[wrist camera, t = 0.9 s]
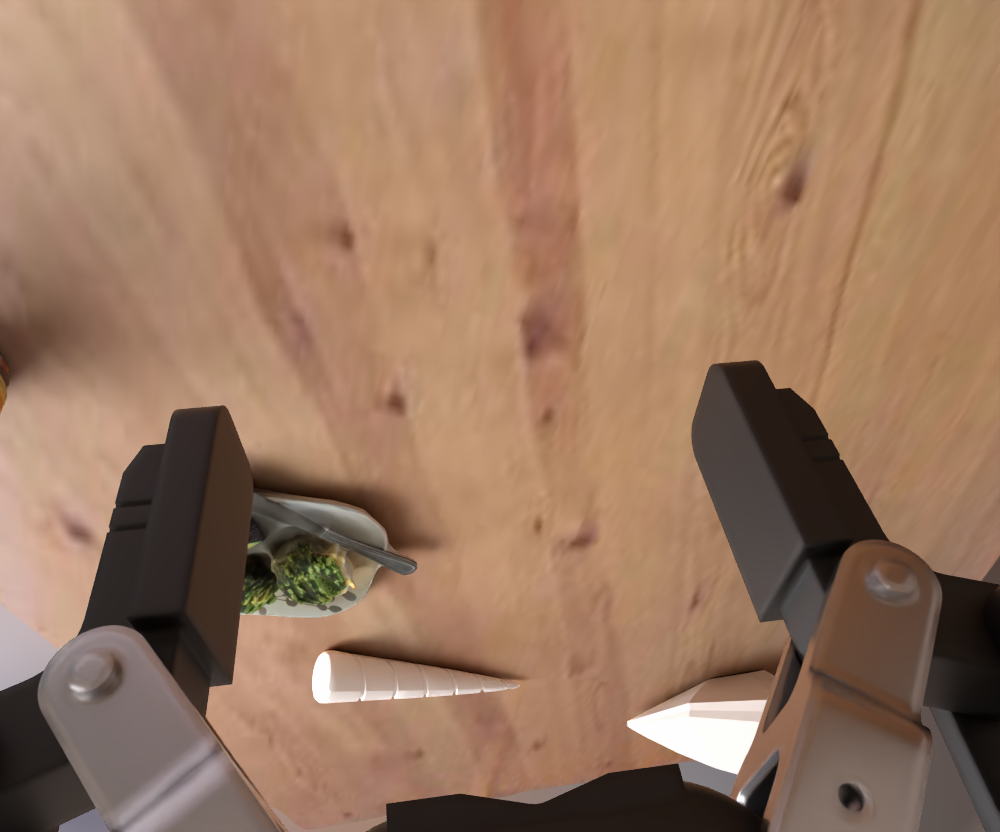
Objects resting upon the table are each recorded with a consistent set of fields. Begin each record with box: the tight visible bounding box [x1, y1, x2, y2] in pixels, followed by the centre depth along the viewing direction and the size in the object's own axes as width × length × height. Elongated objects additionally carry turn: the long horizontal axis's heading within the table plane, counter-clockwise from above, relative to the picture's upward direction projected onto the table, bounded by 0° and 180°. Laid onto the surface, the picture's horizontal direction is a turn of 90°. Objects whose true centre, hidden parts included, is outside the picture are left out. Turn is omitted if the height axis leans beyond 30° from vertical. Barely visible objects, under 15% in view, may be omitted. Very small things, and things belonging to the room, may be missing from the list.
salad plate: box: [240, 488, 417, 618], centre depth 57 cm, size 19×18×5 cm
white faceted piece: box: [627, 670, 775, 774], centre depth 89 cm, size 25×24×12 cm
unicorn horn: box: [312, 650, 520, 703], centre depth 77 cm, size 5×24×5 cm, turn 54°
